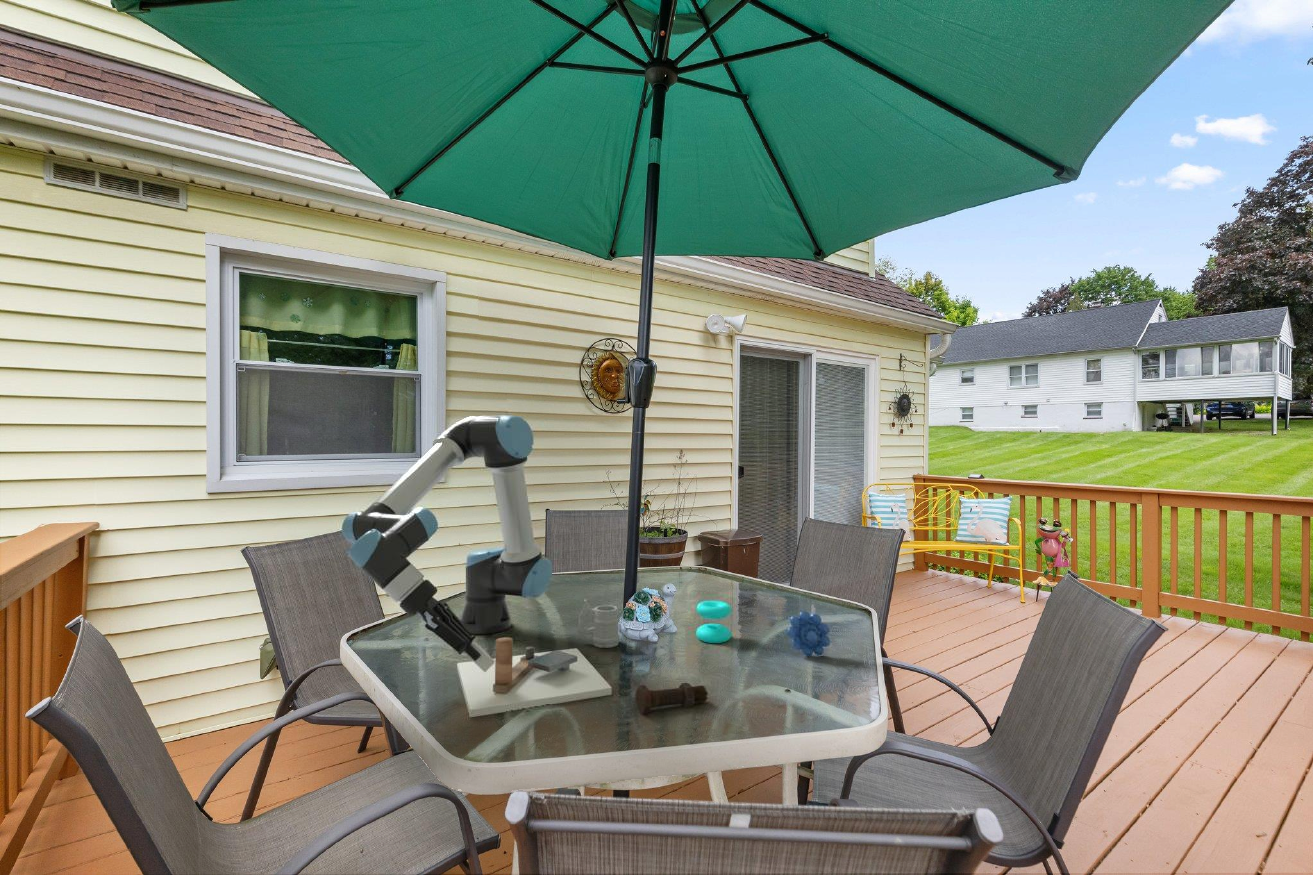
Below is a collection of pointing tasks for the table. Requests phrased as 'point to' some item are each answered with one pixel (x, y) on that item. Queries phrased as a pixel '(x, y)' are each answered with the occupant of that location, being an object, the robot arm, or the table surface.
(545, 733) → the table surface
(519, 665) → the link
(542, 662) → the block
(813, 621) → the blue knobby flower
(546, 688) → the base plate
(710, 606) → the donuts
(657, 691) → the bolt
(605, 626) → the mug
